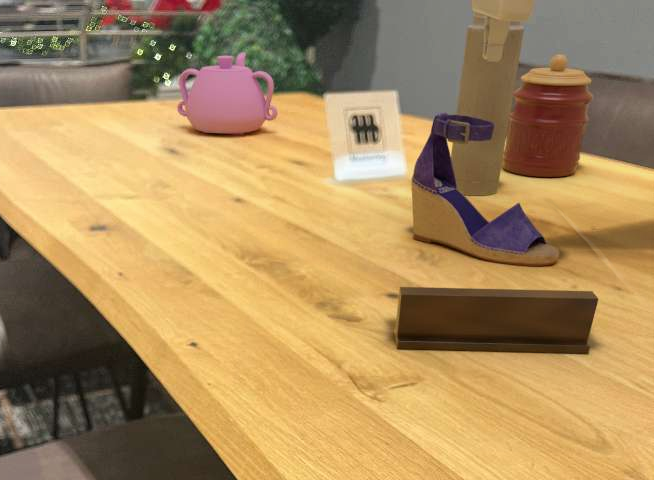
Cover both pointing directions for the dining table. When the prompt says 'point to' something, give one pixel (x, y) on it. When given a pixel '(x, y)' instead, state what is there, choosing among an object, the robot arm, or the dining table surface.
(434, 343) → the shoe rail
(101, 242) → the dining table surface
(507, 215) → the sandal
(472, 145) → the thermos bottle
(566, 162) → the kitchen canister
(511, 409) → the dining table surface
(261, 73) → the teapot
